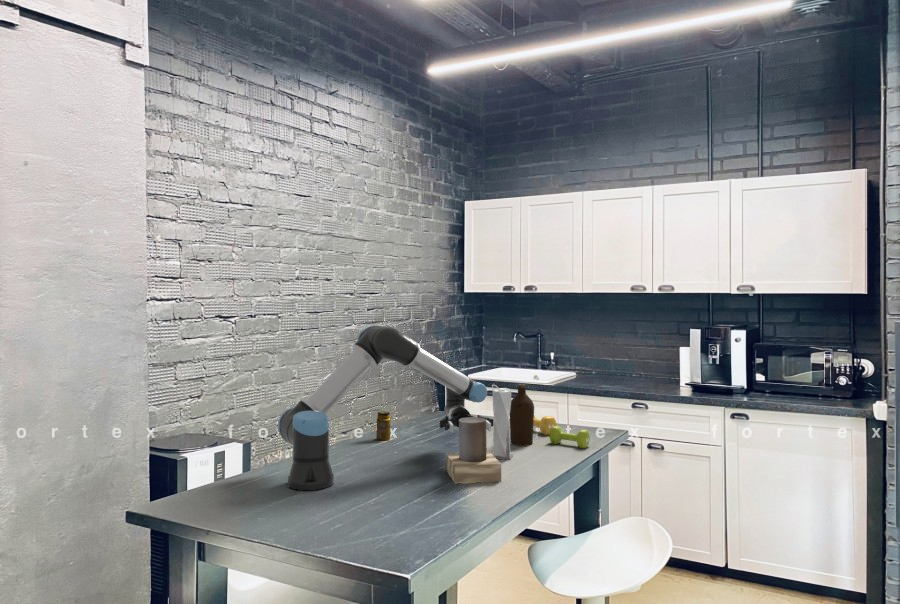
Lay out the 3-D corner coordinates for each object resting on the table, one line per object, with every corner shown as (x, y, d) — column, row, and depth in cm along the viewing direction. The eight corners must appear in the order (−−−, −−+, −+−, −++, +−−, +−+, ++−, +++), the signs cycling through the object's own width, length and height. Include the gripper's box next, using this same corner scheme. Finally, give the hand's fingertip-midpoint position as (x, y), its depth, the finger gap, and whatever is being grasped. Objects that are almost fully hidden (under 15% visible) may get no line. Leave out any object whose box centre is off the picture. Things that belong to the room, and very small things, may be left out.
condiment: (394, 438, 278) (394, 411, 277) (384, 443, 270) (384, 414, 270) (379, 437, 280) (379, 410, 280) (369, 441, 273) (369, 413, 272)
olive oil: (537, 445, 266) (538, 385, 266) (514, 446, 264) (514, 386, 263) (528, 439, 277) (528, 382, 276) (505, 440, 274) (505, 383, 274)
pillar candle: (490, 457, 224) (490, 414, 224) (480, 463, 215) (480, 419, 215) (465, 454, 228) (465, 412, 228) (454, 460, 219) (453, 417, 219)
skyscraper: (488, 457, 246) (489, 385, 245) (493, 452, 253) (493, 382, 253) (510, 459, 243) (510, 386, 243) (514, 454, 251) (514, 383, 251)
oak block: (501, 481, 215) (501, 463, 215) (454, 483, 212) (454, 465, 212) (489, 468, 231) (489, 452, 231) (446, 470, 228) (446, 453, 228)
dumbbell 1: (516, 429, 299) (516, 411, 299) (531, 426, 304) (531, 409, 304) (543, 436, 283) (543, 418, 283) (558, 434, 288) (558, 416, 288)
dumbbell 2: (591, 446, 265) (591, 429, 265) (583, 450, 259) (583, 432, 259) (556, 440, 275) (556, 424, 275) (547, 444, 269) (547, 427, 269)
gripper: (491, 424, 249) (505, 437, 229) (428, 427, 245) (436, 439, 224) (491, 405, 249) (505, 416, 228) (428, 407, 245) (436, 418, 224)
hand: (471, 427), depth 226 cm, fingers open, 13 cm apart
